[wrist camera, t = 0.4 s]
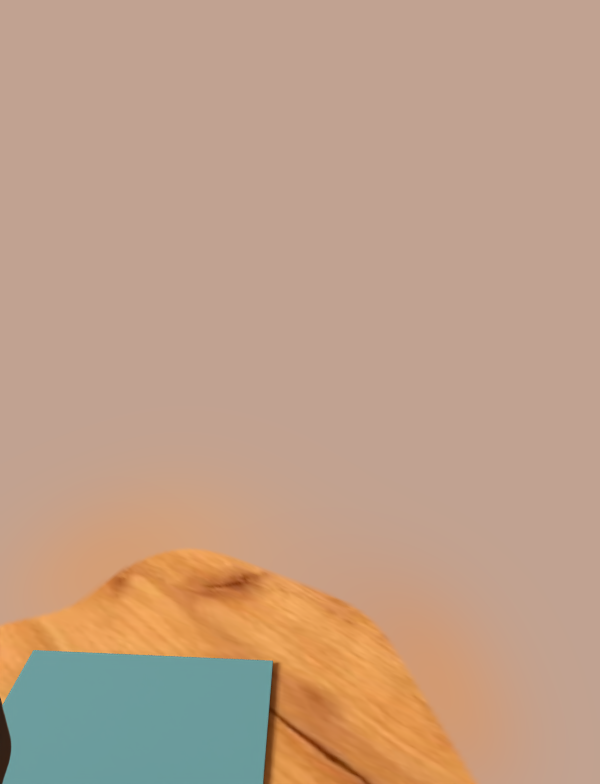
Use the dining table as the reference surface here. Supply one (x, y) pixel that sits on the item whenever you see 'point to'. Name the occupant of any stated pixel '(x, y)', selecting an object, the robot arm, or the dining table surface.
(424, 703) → the dining table surface
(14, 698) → the mat
